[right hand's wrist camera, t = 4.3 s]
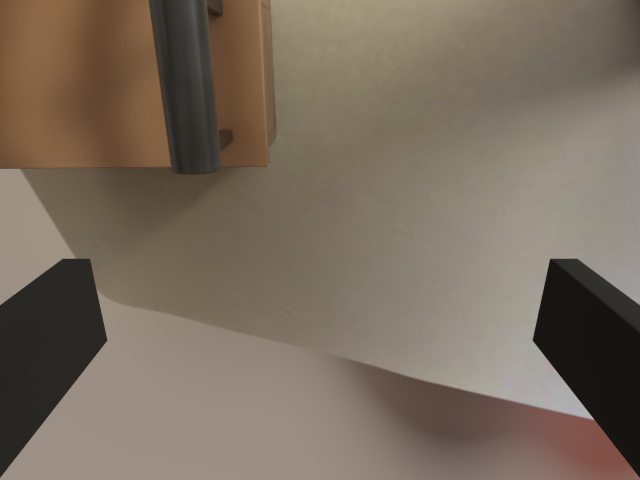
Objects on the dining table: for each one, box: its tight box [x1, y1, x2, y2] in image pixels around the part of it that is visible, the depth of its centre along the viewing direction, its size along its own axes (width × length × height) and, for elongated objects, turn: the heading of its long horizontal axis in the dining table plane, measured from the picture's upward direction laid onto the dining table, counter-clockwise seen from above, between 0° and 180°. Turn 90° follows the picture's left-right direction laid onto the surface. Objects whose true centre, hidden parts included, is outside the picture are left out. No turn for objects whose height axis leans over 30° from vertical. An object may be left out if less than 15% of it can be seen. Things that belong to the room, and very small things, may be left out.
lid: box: [0, 0, 269, 175], centre depth 20 cm, size 17×10×9 cm, turn 90°
